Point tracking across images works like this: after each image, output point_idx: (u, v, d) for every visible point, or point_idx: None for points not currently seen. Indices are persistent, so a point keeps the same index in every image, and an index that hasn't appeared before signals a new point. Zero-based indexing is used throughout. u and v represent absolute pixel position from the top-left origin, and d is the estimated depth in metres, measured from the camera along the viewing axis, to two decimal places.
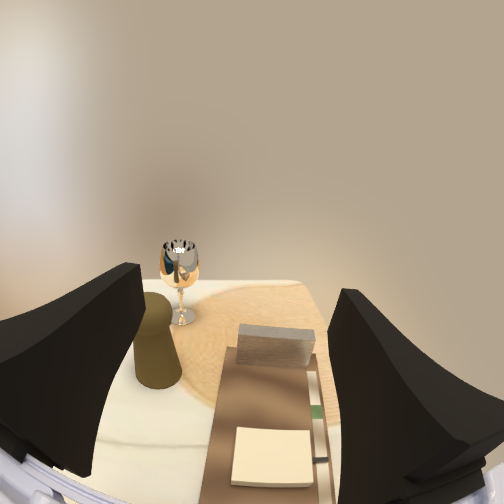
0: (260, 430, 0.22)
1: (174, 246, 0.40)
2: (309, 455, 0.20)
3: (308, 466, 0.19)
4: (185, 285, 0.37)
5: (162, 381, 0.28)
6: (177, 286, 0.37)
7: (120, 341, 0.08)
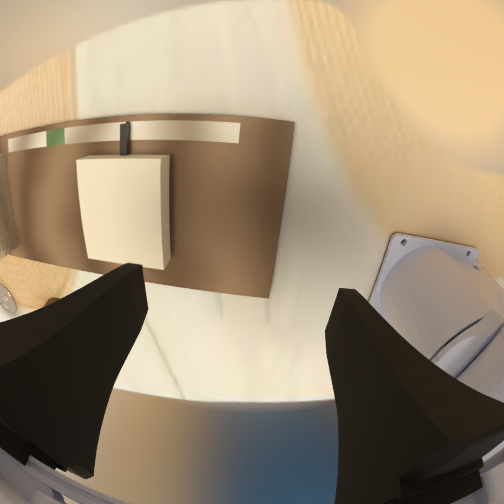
0: (85, 229, 0.16)
1: None
2: (114, 161, 0.14)
3: (132, 164, 0.14)
4: None
5: None
6: None
7: (122, 341, 0.08)
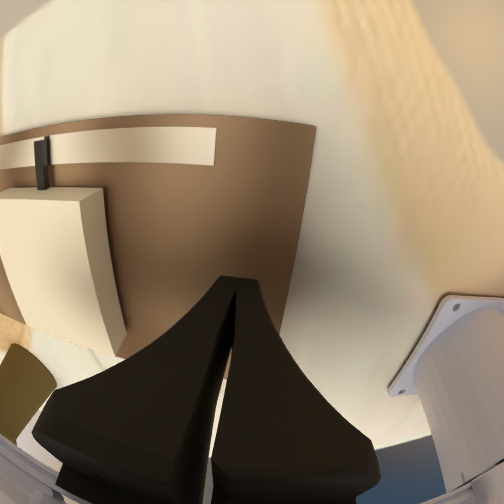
0: (14, 292, 0.10)
1: None
2: (24, 203, 0.07)
3: (44, 209, 0.07)
4: None
5: (37, 374, 0.16)
6: None
7: (224, 361, 0.08)
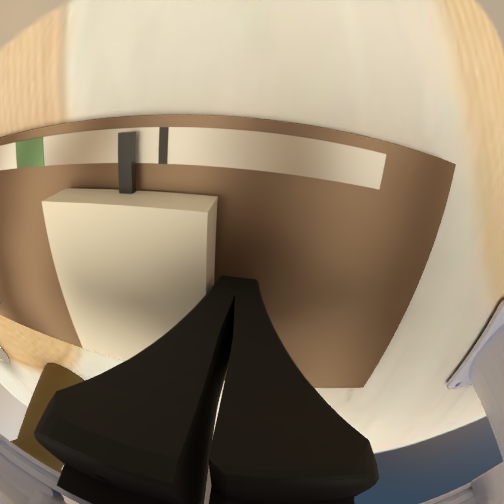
0: (72, 313, 0.09)
1: None
2: (109, 210, 0.07)
3: (146, 219, 0.07)
4: None
5: None
6: None
7: (226, 361, 0.08)
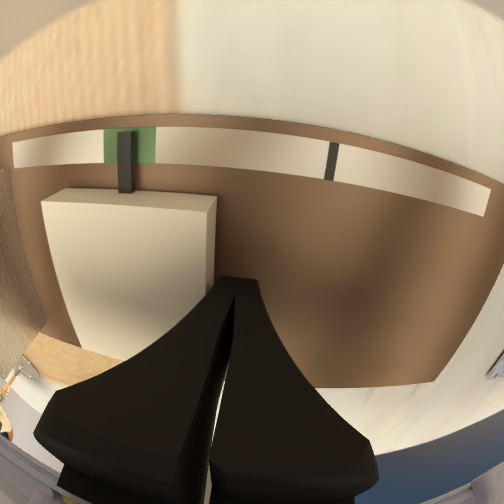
0: (71, 313, 0.09)
1: None
2: (108, 210, 0.07)
3: (145, 219, 0.07)
4: None
5: None
6: (4, 424, 0.12)
7: (225, 361, 0.08)
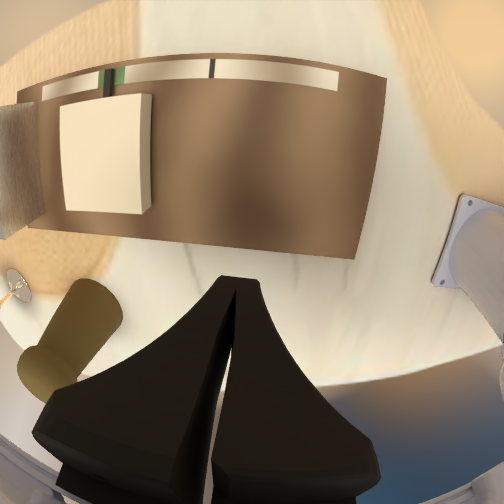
0: (64, 178, 0.14)
1: None
2: (96, 102, 0.12)
3: (113, 102, 0.12)
4: None
5: (107, 305, 0.21)
6: None
7: (224, 361, 0.08)
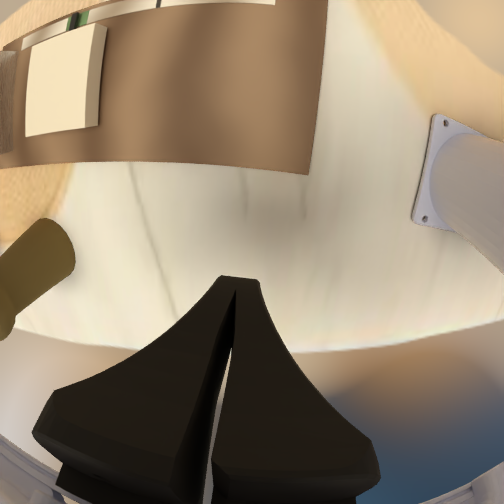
0: (27, 106, 0.12)
1: None
2: (59, 37, 0.10)
3: (72, 34, 0.10)
4: None
5: (59, 242, 0.19)
6: None
7: (224, 361, 0.08)
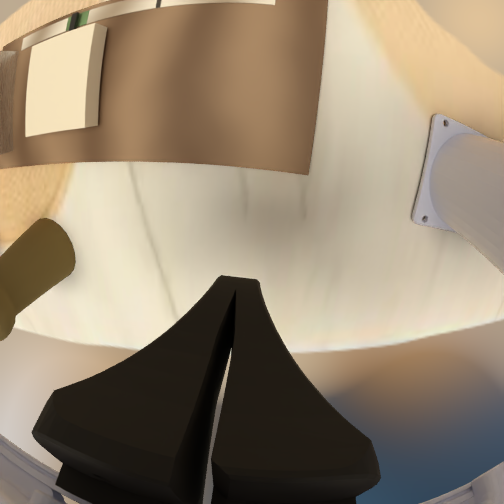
0: (27, 106, 0.12)
1: None
2: (59, 37, 0.10)
3: (72, 34, 0.10)
4: None
5: (59, 242, 0.19)
6: None
7: (224, 361, 0.08)
